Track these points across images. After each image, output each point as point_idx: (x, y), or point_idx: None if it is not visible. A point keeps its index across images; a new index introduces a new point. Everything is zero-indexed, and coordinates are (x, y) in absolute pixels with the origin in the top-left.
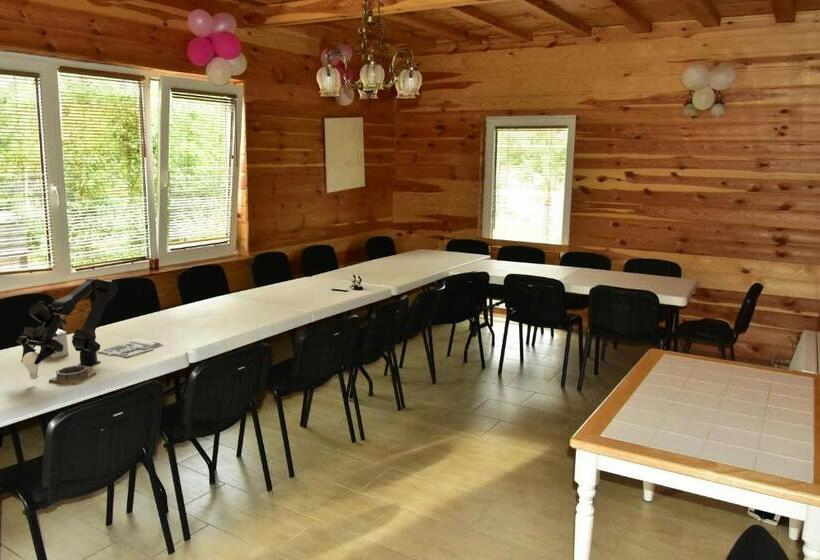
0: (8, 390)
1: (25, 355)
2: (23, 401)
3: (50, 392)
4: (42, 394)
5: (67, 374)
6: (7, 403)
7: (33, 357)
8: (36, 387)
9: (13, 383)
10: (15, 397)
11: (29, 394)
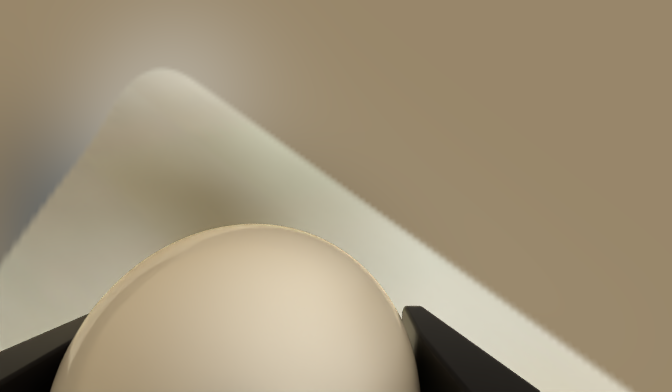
0: (388, 232)
1: (277, 246)
2: (125, 127)
3: (33, 294)
4: (74, 244)
5: None
6: (197, 88)
7: (95, 306)
8: None
9: (513, 366)
10: (226, 157)
11: (173, 218)
